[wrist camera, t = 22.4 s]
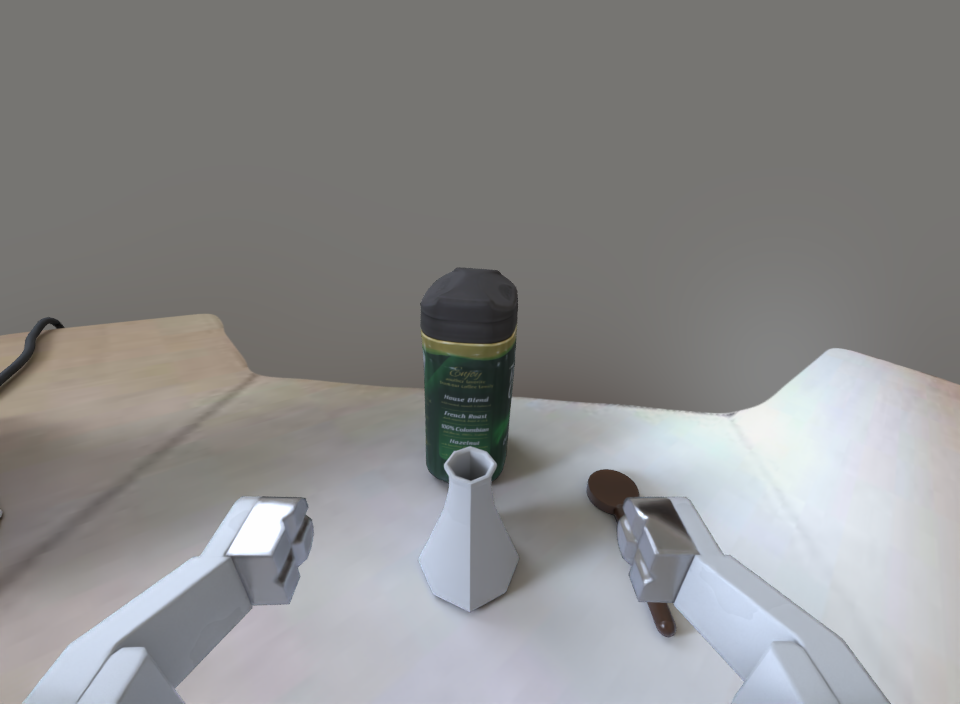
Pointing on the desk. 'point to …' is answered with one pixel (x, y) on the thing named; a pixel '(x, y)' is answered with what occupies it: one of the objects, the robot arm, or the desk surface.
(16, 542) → the desk surface
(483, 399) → the coffee jar
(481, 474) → the flask
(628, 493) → the wooden spoon
